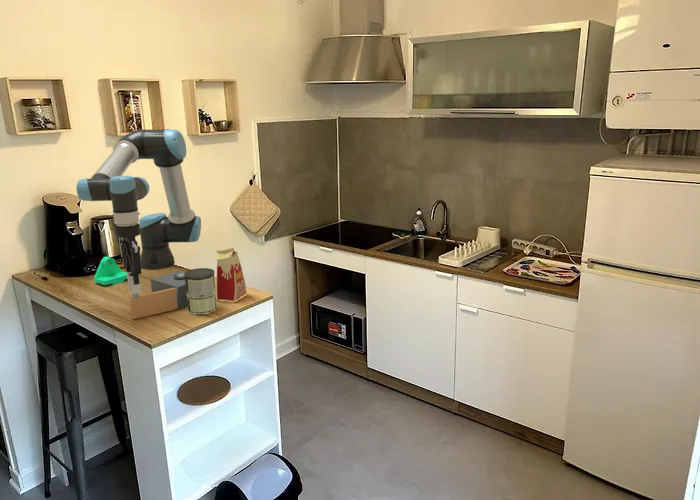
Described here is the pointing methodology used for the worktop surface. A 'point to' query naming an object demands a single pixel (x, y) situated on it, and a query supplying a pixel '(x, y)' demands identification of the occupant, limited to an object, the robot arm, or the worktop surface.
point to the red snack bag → (229, 276)
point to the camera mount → (109, 272)
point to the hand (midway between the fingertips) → (135, 291)
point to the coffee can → (200, 290)
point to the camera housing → (171, 285)
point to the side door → (153, 302)
